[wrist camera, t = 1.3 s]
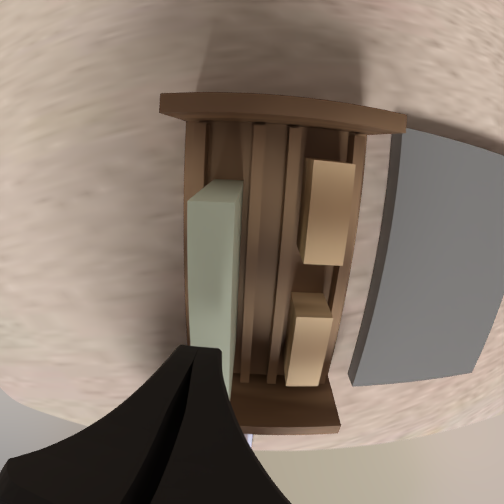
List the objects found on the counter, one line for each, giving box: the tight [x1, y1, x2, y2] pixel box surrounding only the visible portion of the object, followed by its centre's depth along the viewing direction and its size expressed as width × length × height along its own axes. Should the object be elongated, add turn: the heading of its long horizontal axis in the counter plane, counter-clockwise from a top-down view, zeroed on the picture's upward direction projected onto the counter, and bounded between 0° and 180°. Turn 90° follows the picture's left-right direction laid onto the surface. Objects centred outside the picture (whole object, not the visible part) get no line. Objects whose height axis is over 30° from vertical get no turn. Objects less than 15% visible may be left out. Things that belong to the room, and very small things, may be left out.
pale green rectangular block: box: [187, 179, 244, 400], centre depth 15 cm, size 10×2×7 cm, turn 177°
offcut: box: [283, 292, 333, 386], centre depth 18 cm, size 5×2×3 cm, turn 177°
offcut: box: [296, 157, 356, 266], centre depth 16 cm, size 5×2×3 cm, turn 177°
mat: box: [348, 128, 504, 386], centre depth 19 cm, size 18×12×2 cm, turn 177°
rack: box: [159, 92, 407, 435], centre depth 17 cm, size 18×10×6 cm, turn 177°
